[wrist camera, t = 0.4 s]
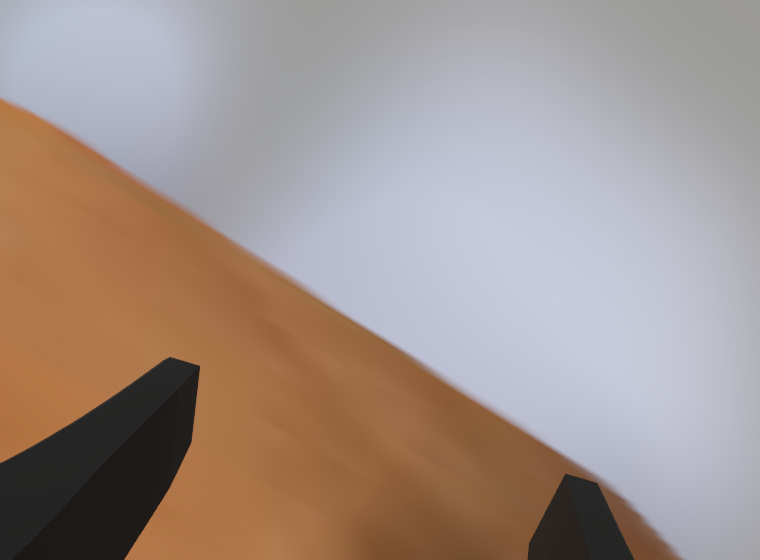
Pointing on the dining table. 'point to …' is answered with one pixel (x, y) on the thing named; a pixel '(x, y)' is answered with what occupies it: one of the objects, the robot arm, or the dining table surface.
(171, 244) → the dining table surface
